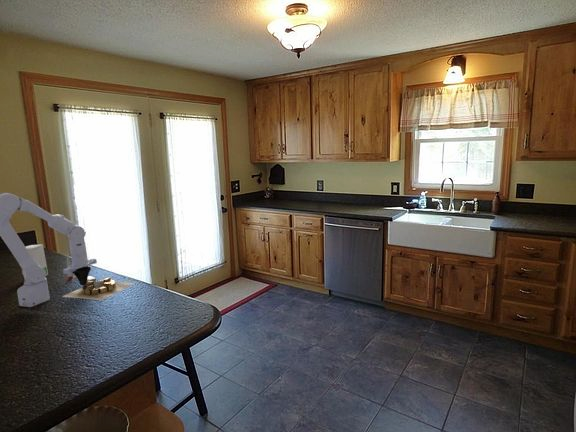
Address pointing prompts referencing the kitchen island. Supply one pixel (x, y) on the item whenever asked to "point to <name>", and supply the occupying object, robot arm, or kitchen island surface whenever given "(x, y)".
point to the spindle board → (99, 296)
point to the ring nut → (90, 288)
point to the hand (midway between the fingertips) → (83, 284)
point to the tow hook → (71, 272)
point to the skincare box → (38, 255)
